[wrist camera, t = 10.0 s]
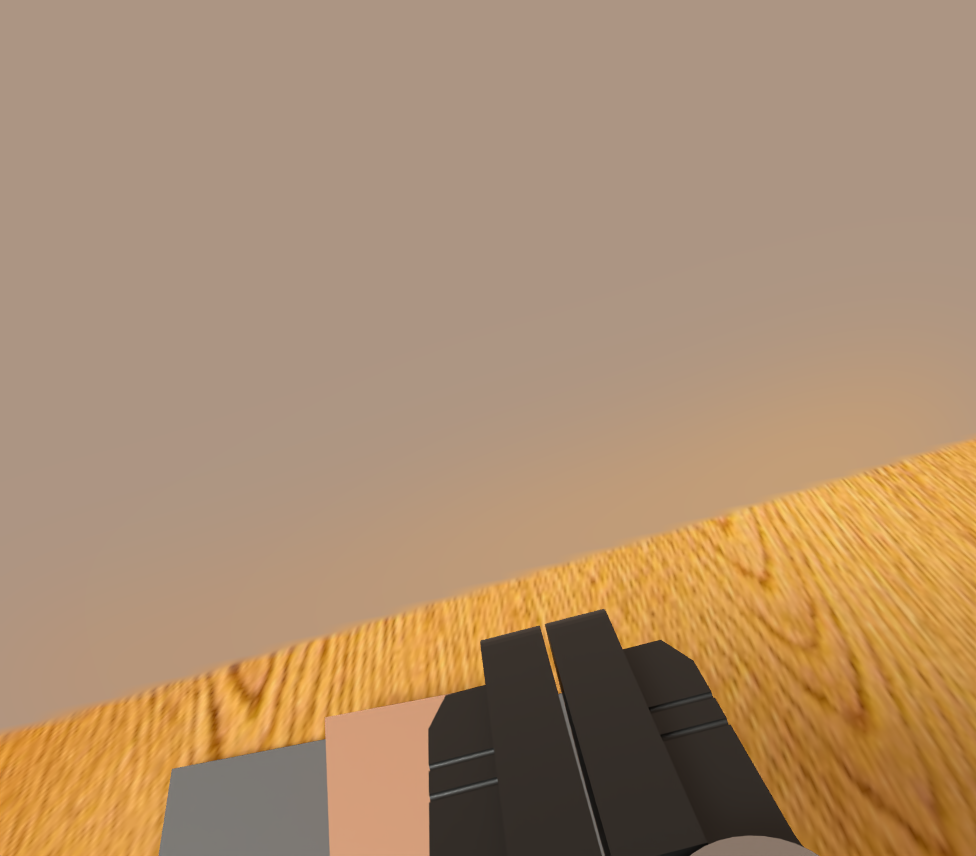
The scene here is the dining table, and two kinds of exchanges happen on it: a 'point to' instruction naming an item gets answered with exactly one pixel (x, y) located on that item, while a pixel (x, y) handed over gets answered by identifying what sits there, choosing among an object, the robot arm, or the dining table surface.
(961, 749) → the dining table surface
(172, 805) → the mat
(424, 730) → the tile
